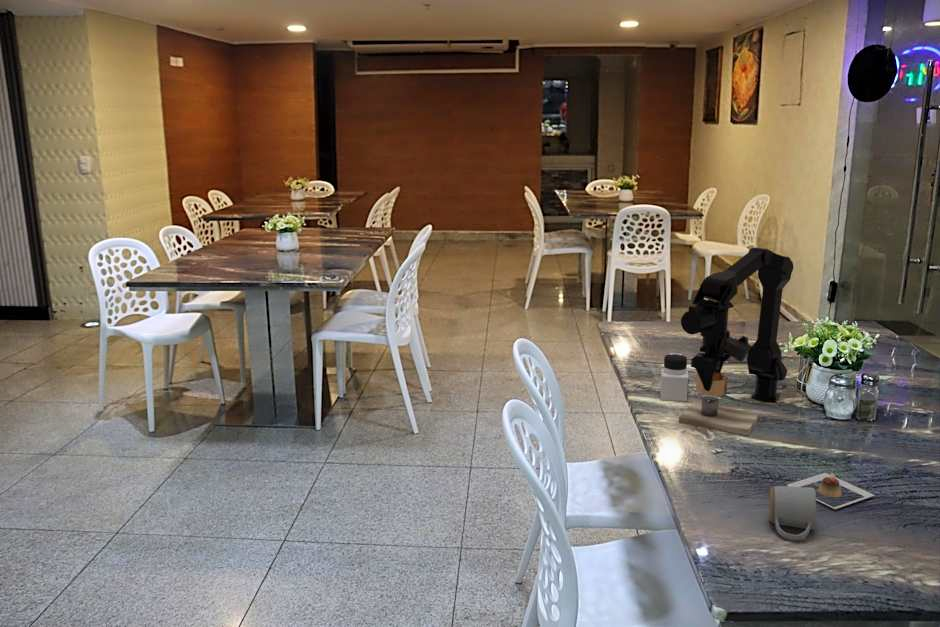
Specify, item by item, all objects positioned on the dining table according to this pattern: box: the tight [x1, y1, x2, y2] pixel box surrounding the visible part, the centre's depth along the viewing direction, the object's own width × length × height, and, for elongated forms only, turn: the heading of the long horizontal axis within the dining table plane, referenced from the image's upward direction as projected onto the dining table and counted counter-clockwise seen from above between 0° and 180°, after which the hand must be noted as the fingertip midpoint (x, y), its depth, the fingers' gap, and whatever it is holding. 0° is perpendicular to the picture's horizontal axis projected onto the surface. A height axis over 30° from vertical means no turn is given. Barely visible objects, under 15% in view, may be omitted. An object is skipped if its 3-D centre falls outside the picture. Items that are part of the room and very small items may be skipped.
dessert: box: [786, 472, 875, 510], centre depth 163 cm, size 12×12×5 cm
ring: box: [695, 372, 728, 397], centre depth 201 cm, size 7×7×4 cm
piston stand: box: [678, 402, 760, 436], centre depth 202 cm, size 12×17×2 cm
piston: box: [701, 396, 719, 417], centre depth 202 cm, size 4×4×4 cm
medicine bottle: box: [659, 353, 690, 402], centre depth 218 cm, size 7×7×12 cm
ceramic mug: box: [768, 485, 817, 542], centre depth 149 cm, size 11×8×8 cm
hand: (711, 386), depth 201 cm, fingers closed on ring, 7 cm apart
